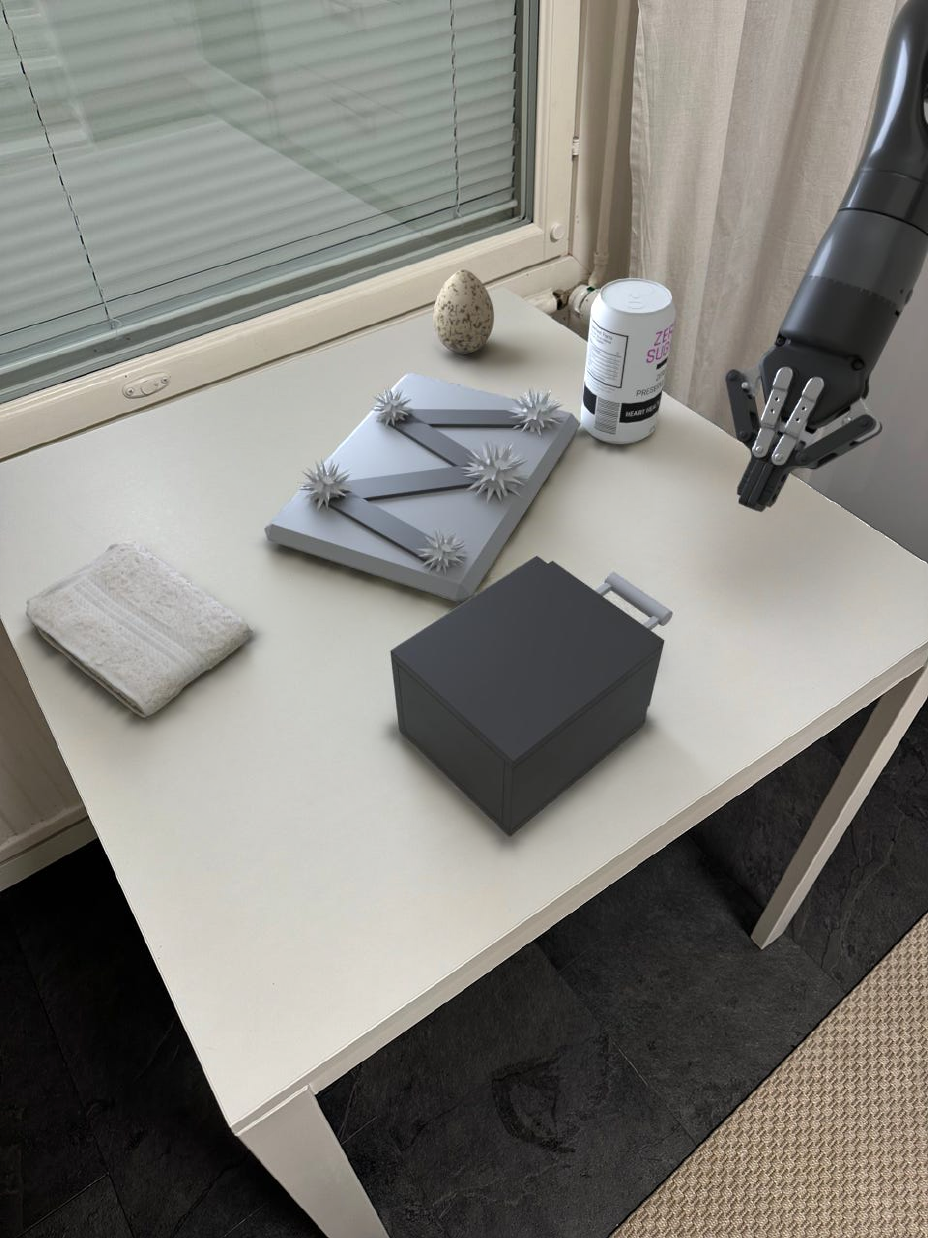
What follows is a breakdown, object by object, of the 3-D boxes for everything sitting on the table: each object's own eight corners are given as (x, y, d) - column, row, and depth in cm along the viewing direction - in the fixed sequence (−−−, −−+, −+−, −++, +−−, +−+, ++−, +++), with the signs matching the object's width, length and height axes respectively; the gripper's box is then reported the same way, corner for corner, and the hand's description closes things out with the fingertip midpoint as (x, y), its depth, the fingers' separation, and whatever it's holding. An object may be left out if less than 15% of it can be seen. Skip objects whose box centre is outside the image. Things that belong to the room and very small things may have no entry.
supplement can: (581, 401, 100) (594, 273, 89) (655, 406, 100) (677, 277, 89) (577, 444, 95) (591, 313, 84) (656, 450, 94) (679, 318, 83)
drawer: (586, 598, 78) (594, 532, 72) (689, 673, 72) (707, 607, 67) (425, 712, 70) (420, 646, 64) (527, 806, 64) (531, 744, 58)
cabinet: (531, 636, 76) (536, 554, 69) (644, 725, 70) (662, 645, 63) (398, 730, 70) (389, 650, 63) (509, 837, 63) (513, 762, 56)
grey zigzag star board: (406, 385, 103) (402, 329, 98) (582, 430, 97) (588, 372, 91) (260, 546, 85) (246, 487, 79) (466, 614, 78) (465, 555, 73)
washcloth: (131, 551, 84) (121, 527, 82) (261, 638, 77) (254, 614, 74) (20, 625, 78) (6, 600, 76) (149, 728, 70) (139, 704, 68)
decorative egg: (445, 331, 111) (442, 252, 104) (500, 339, 110) (501, 260, 102) (427, 361, 107) (423, 281, 99) (484, 369, 105) (484, 289, 98)
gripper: (755, 254, 67) (660, 472, 72) (929, 298, 59) (809, 537, 64) (791, 284, 73) (701, 483, 77) (953, 326, 65) (842, 544, 70)
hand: (750, 507), depth 71 cm, fingers closed
